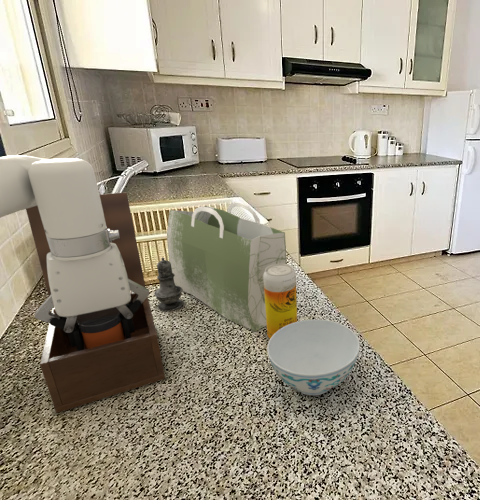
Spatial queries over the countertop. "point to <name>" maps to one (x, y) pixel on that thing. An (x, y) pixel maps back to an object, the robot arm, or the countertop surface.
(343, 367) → the chinaware
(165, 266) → the grey chess piece
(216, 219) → the grocery bag
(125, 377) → the chest
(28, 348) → the countertop surface
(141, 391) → the countertop surface
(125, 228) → the chest lid
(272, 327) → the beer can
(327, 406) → the countertop surface
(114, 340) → the jar
